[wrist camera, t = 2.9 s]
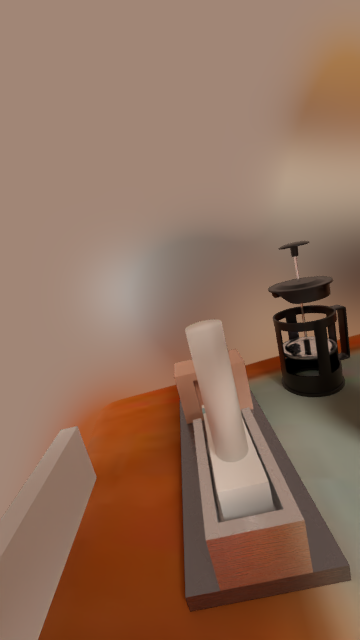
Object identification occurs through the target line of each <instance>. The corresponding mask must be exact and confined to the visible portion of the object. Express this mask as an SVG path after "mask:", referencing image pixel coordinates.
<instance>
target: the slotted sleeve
mask: <svg viewBox="0 0 360 640" xmlns="http://www.w3.org/2000/svg"><path fill="white" fill-rule="evenodd" d="M250 394H251V399H252V404H253V409H251V410H250V408H249V407H248V408H244V409H241V415H242V418H243V421H244V423H245V426H246V428H247V431H248V433H249V435H250V438H251V440H252V443H253V445H254V447H255V450H256V452H257V455H258V457H259V459H260V462H261V464H262V467H263V469H264V471H265V474H266V476H267V479H268V481H269V486H270V491H271V496H272V501H273V506H274V511H273V512H268V513H263V514H258V515H253V516H249V517H244V518H239V519H234V520H229V521H224V517H223V513H222V509H221V505H220V502H219V498H218V494H217V489H216V483H215V478H214V472H213V466H212V461H211V455H210V449H209V444H208V438H207V432H206V427H205V421H204V420H201V418H200V419H195V420H193V423H189V424H187V422H186V418H185V415H184V411H183V407H182V404H181V400H180V428H181V462H182V496H183V530H184V564H185V598H186V601H187V604H188V607H189V610H190V612H191V611H196V610H201V609H207V608H212V607H217V606H222V605H227V604H232V603H237V602H242V601H247V600H253V599H258V598H263V597H268V596H273V595H278V594H283V593H288V592H293V591H299V590H304V589H309V588H314V587H319V586H324V585H329V584H334V583H339V582H345V581H350V580H351V575H350V567H349V564H348V562H347V560H346V558H345V557H344V555H343V553H342V551H341V550H340V548H339V546H338V544H337V542H336V541H335V539H334V537H333V535H332V534H331V532H330V530H329V528H328V527H327V525H326V523H325V521H324V519H323V518H322V516H321V514H320V512H319V511H318V509H317V507H316V505H315V503H314V502H313V500H312V498H311V496H310V495H309V493H308V491H307V489H306V488H305V486H304V484H303V482H302V480H301V479H300V477H299V475H298V473H297V472H296V470H295V468H294V466H293V464H292V463H291V461H290V459H289V457H288V456H287V454H286V452H285V450H284V448H283V447H282V445H281V443H280V441H279V440H278V438H277V436H276V434H275V433H274V431H273V429H272V427H271V425H270V424H269V422H268V420H267V418H266V417H265V415H264V413H263V411H262V409H261V408H260V406H259V404H258V402H257V401H256V399H255V397H254V395H253V394H252V392H251V390H250Z"/></svg>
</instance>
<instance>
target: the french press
mask: <svg viewBox="0 0 360 640" xmlns="http://www.w3.org/2000/svg"><path fill="white" fill-rule="evenodd" d="M307 243H309V241H300V242H294V243H290V244H287V245H284V246H282V247H280V248H279V249H286V248H290V250H291V255H292V257H294V261H295V269H296V276H297V279H293V280H289V281H285V282H281V283H278V284H275V285H273V286H271V287H269V288H268V291H269V292H271V293H272V295H273V296H274V297H275V298H277V297H280V296H281V297H282V298H283V299H285V300H286V301H288V302H290V303H293V304H300V305H301V306H300V307H294V308H290V309H286V310H283V311H281V312H278V313H277V314H275V315H274V316H273V321H274V326H275V331H276V337H277V343H278V349H279V356H280V362H281V370H282V376H283V377H282V384H283V386H284V387H285V388H286V389H287V390H288V391H290V392H292V393H294V394H297V395H301V396H307V397H322V396H328V395H331V394H334V393H336V392H338V391H340V390H341V389H342V388H343V387H344V385H345V379H344V377H343V375H342V365H341V361H340V360H344V359H348V358H350V348H349V337H348V327H347V316H346V308H345V307H344V306H340V305H334V306H330V307H329V306H322V305H310V306H303V303H307V302H312V301H316V300H320V299H323V298H325V297H327V296H329V295H330V283H331V282H332V281H333V279H332V278H331V277H327V276H316V277H305V278H299V272H298V265H297V258H296V256H298V246H300V245H304V244H307ZM336 310H337V313H338V322H339V333H340V343H341V353H340V354H338V348H337V338H336V329H335V322H336V320H337V317H336ZM305 313H324V314H326V315H327V317H326V318H323V319H320V320H316V321H311V322H305V317H304V314H305ZM297 314H302V320H303V323H297V321H296V315H297ZM283 318H286V322H287V323H284V322H279V320H281V319H283ZM326 327H328V334H329V339H328V338H327V330H326ZM281 330H283V331H288V335H289V341H287V342H285V343H283V342H282V335H281ZM312 330H314V335H315V337H307V332H306V331H312ZM303 331H304V334H305V337H301V338H299V334H298V332H303ZM285 357H287V358H285ZM305 370H319V374H320V376H308V377H307V376H298V375H294V374H295V373H297V372H300V371H305Z"/></svg>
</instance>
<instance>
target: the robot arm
mask: <svg viewBox="0 0 360 640" xmlns="http://www.w3.org/2000/svg"><path fill="white" fill-rule="evenodd" d="M96 478H97V477H96V474H95V472H94V469H93V466H92V464H91V461H90V458H89V456H88V453H87V450H86V448H85V445H84V442H83V439H82V437H81V434H80V431H79V429H78V426H76V427H72V428H67V429H62V430H60V432H59V433H58V435H57V436H56V438H55V439H54V441H53V442H52V444H51V445H50V447H49V448H48V450H47V451H46V453H45V454H44V455H43V457H42V458H41V460H40V461H39V463H38V465H37V466H36V467H35V469H34V471H33V472H32V474H31V475H30V476H29V478H28V479H27V481H26V482H25V484H24V486H23V487H22V488H21V490H20V491H19V493H18V494H17V496H16V497H15V499H14V500H13V502H12V503H11V505H10V506H9V508H8V509H7V511H6V512H5V514H4V515H3V517H2V518H1V520H0V640H38V638H39V635H40V633H41V630H42V627H43V624H44V622H45V619H46V616H47V613H48V611H49V608H50V605H51V602H52V600H53V597H54V594H55V591H56V588H57V586H58V583H59V580H60V577H61V575H62V572H63V569H64V566H65V564H66V561H67V558H68V555H69V553H70V550H71V547H72V544H73V541H74V539H75V536H76V533H77V530H78V528H79V525H80V522H81V519H82V517H83V514H84V511H85V508H86V506H87V503H88V500H89V497H90V494H91V492H92V489H93V486H94V483H95V481H96Z"/></svg>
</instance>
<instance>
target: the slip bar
mask: <svg viewBox="0 0 360 640" xmlns="http://www.w3.org/2000/svg"><path fill="white" fill-rule="evenodd" d="M185 331H186V336H187V340H188V344H189V348H190V352H191V356H192V360H193V364H194V368H195V372H196V376H197V380H198V384H199V388H200V392H201V396H202V400H203V404H204V405H202V412H203V417H204V421H205V427H206V432H207V438H208V444H209V449H210V455H211V461H212V466H213V472H214V478H215V483H216V489H217V494H218V498H219V502H220V505H221V509H222V513H223V517H224V521H229V520H234V519H239V518H244V517H249V516H253V515H258V514H263V513H268V512H273V511H274V506H273V501H272V496H271V491H270V486H269V481H268V479H267V476H266V474H265V471H264V469H263V467H262V464H261V462H260V459H259V457H258V455H257V452H256V450H255V447H254V445H253V443H252V440H251V438H250V435H249V433H248V431H247V428H246V426H245V423H244V421H243V418H242V415H241V410H240V406H239V401H238V396H237V392H236V387H235V382H234V378H233V373H232V368H231V364H230V359H229V354H228V350H227V345H226V341H225V336H224V331H223V327H222V322H221V321H220V320H205V321H200V322H197V323H194V324H191V325H189V326H188V327H187V328H186V329H185Z"/></svg>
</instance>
